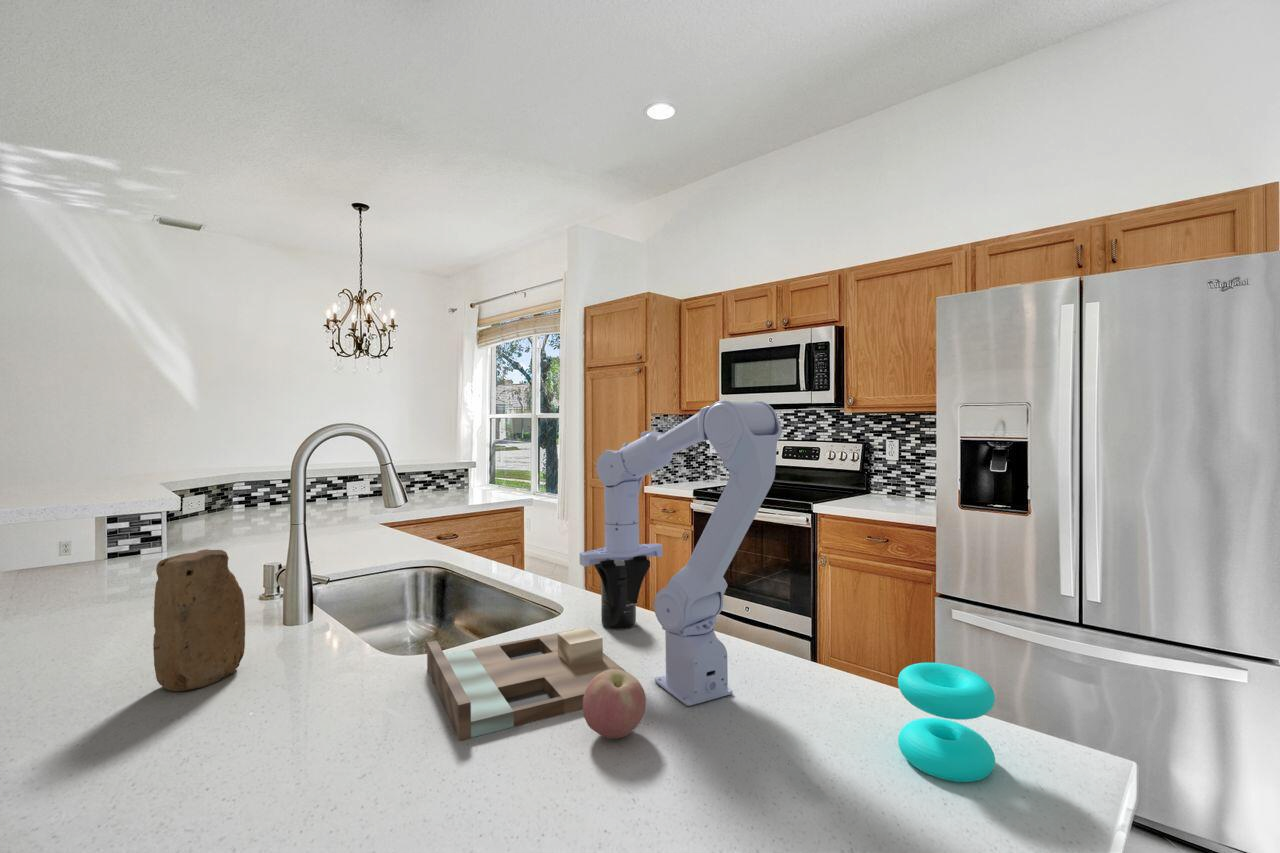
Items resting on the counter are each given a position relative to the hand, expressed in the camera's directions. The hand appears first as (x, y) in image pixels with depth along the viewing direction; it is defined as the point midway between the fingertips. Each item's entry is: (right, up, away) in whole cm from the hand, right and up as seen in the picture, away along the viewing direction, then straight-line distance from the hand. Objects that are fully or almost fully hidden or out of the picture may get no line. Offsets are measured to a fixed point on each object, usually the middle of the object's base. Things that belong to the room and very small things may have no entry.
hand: (622, 603), depth 99 cm
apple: (0, -10, -24) cm, 26 cm away
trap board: (-14, -10, -7) cm, 18 cm away
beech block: (-7, -8, -4) cm, 11 cm away
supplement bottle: (-1, -10, +18) cm, 20 cm away
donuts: (+38, -10, -30) cm, 50 cm away
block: (-66, -10, -6) cm, 67 cm away
